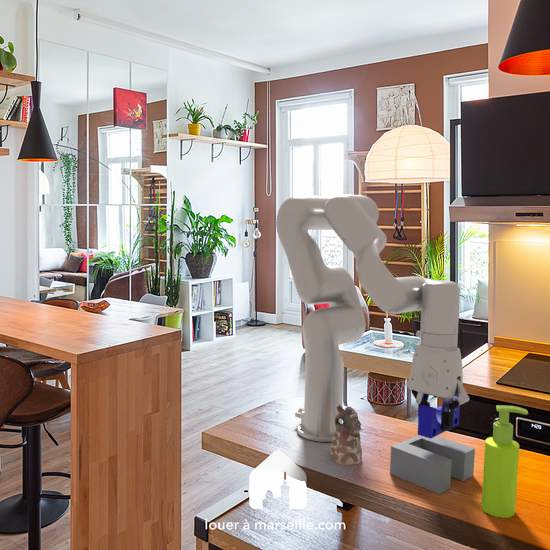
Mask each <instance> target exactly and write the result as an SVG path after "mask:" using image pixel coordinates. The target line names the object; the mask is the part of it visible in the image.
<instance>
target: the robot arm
mask: <svg viewBox="0 0 550 550" xmlns="http://www.w3.org/2000/svg"><path fill="white" fill-rule="evenodd" d="M379 217H380V211H379V207H378V205H377V203H376V201H374V200H373V199H372V198H371V197H369V196H366V195H360V194H348V193H347V194H346V193H345V194H343V193H342V194H337V195H335V196H321V195H320V196H318V195H295V196H291V197H288V198H287V199H286V200H284V201H283V202H282V204H281V205H280V207H279V209H278V210H277V214H276V220H275V226H276V233H277V236H278V238H279V241H280V244H281V246H282V247H283V250H284V253H285V255H286V259H287V262H288V266H289V269H290V272H291V276H292V279H293V283H294V285H295V288H296V293H297V295H298V298H299V299H300V301H301V302H302V303H304V304H306V305H310V306H311V305H312V306H313V305H315V306H316V305H323V304H328V307H322V308H318V309H315V310H313V311H311V312H309V313H308V314H307V315H306V316H305V318H304V320H303V322H302V328H301V329H302V330H301V331H302V337H303V342H304V345H303V346H304V352H305V353H304V355H305V356H304V357H305V363H304V365H305V367H304V373H305V374H304V377H305V378H304V379H305V380H304V404H303V405H304V407H299V409H298V411H296V412H295V413H294V415H295V418H299V419H300V423H299V424H298V425H297V434H298V435H299V436H300V437H302V438H304V439H306V440H310V441H313V442H321V443H329V442H330V443H332V440H333V436H334V432H335V430H336V426H335V418H336V416H337V415H338V414H339V412H338V410H337V406H339V405H341V407H342V408H343V406H344V405H343V400H344V377H345V376H344V375H345V372H344V371H345V370H344V369H345V365H344V359H343V355H342V353H341V350H340V348H339V346H341V345H343V344H348V343H352V342H356V341H358V340H360V339H361V338H362V337H363V336H364V334H365V331H366V325H367V324H366V317H365V313H364V309H363V306H362V303H361V300H360V297H359V293H358V291H357V288H356V285H355V281H354V280H353V278H352V275H351V274H350V273H349V272H348V270H346V269H345V268H344V267H342V266H339V265H327V264H325V261H324V260H323V255H322V253H321V250H320V248H319V247H320V246H319V245H318V244H317V242H316V240H315V239H314V238H313V237H312V236H311V234H310V233H309V232H308V231H310V230H311V231H313V230H317V231H318V230H319V231H320V230H321V231H323V230H325V231H328V230H331V231H332V230H333V232H334V233H335V234H336V235H337V236H338V238H339V239H340V240H341V241H342V243H343V244H344V246H346V248H347V249H348V250H349V252H351V254H352V255H353V257H354V258H355V269H356V275H357V278H358V281H359V284H360V287H362V289H363V290H364V291H365V293H366V294H367V295H368V297H369V298H370V299H371V301H372V302H373V303H374V304H375V305H376V306H377V308H379V309H380V310H381V311H383V312H384V313H387V314H391V315H396V314H397V315H398V314H403V313H409V312H410V313H412V312H417V311H420V330H417V331H416V332H415V337H416V338H419V342H418V343H416V345H415V347H414V348H415V349H414V351H413V356H412V360H411V361H412V362H411V369H410V378H409V379H408V380H407V381H406V383H405V385H406V387H407V388H408V389H409V391H410V392H411V394H412V395H413V397H414V399H415V403H416V404H417V416H418V415H419V406H421V405H426V406H430V407H431V404H430V403H431V402H430V401H428V400H429V398H430V396H432V397H435V398H440V399H441V400H442V405H443V406H444V411H442V413H441V430H443V431H445V430H447V429H449V430H451V429H452V428H451V427H452V425H453V414H454V410H455V409H456V408H457V407H459V406H460V407H461V405H463V404H465V403H467V402H469V401H470V396H469V395H468V393H467V391H466V390H465V387H464V385H463V377H464V376H463V373H464V372H463V360H462V353H461V349H460V348H459V347H458V339H459V338H458V337H459V319H460V300H461V299H460V296H461V295H460V293H461V289H460V285H459V284H458V283H457V282H455V281H451V280H444V279H443V280H442V279H441V280H440V279H439V280H438V279H431V278H428V277H427V278H426V277H423V276H417V275H415V276H414V275H413V276H402V277H401V276H399V277H395V276H394V275H393V274H392V272H391V271H390V270H389V269H388V267H386V266H385V264H384V262H383V260H382V259H381V256H380V253H381V252H382V251H383V250H384V248H385V247H386V245H387V243H388V242H387V241H388V240H387V239H388V238H387V235H386V233H385V232H384V231H383V230H382V229H381V228H380V227H379V225H378V224H377V222H378V221H379ZM455 396H457V397H459V398H458V399H457V400H455ZM339 423H340V424H343V420H342V419H339ZM450 428H451V429H450ZM447 431H448V430H447ZM445 432H446V431H445Z"/></svg>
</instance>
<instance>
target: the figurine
mask: <svg viewBox="0 0 550 550" xmlns="http://www.w3.org/2000/svg"><path fill="white" fill-rule="evenodd" d="M337 410H338V412H339V414H338V415H337V416H336V418H335V426H336V430H335V432H334V436H333V440H332V442H331V445H330V451H329V453H330V459H331V460H332V462H334V463H336V464H339V465H341V466H343V465H345V466H351V465H359V464H361V463H362V462H363V460H362V459H363V458H362V457H363V456H362V455H363V448H362V443H361V441H362V440H361V435H360V434H361V433H360V431H361V430H362V423H361V421H360V419H359V415H358V413H357V411H356V410H355V409H354V408H353V407H351V406H347V407H345V409H344V408H343V406H342V407H341V405H339V406H337ZM339 419H342V424H340V423H339Z"/></svg>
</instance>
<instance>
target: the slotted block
mask: <svg viewBox="0 0 550 550" xmlns="http://www.w3.org/2000/svg"><path fill="white" fill-rule="evenodd" d="M475 454H476V448H473V447H472V446H468V445H466V444H463V443H460V442H457V441H454V440H451V439H448V438H445V437H441V436H439V435H437V436H435V437H433V438H431V439H430V438H427V437H424V436H420V435H418V434H417V435H416V436H415V435H414V436H413V437H410V438H409V439H408V438H407V439H406V440H402V441H400V442H398V443H396V444H393V445H391V446H390V462H389V463H390V464H389V465H390V466H389V474H390V475H393V476H395V477H398V478H399V479H402V480H405V481H407V482H409V483H412V484H414V485H416V486H419V487H421V488H424V489H426V490H428V491H431V492H433V493H435V494H438V495H441V494H442V493H444V492H446V491H447V490H450V489H451V483H452V479H451V478H454V479H457V480H459V481H462V482H465V481H466V480H468V479H470V478H472V477H474V470H475V456H476V455H475Z"/></svg>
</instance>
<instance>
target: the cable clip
mask: <svg viewBox="0 0 550 550" xmlns="http://www.w3.org/2000/svg"><path fill="white" fill-rule="evenodd" d="M454 396H455V400H457V399H458V398H459V396H458V395H454ZM460 408H461V405H460V406H459V407H457V408H456V409H455V410H454V414H453V425H452V427H451V428H450V429H447V430H445V431H443V430H441V413H442V411H444V406H443V404H442V406H441V405H439V406H437V407H434V406H431V405H430V406H426V405H421V406H419V415H418V414H417V417H418V420H417V436H418V435H420V436H424V437H427V438H430V439H431V438H433V437H435V436H439V435H440V434H441V435H442V434H443V433H445V432H447V431H449V430H451V429H453V428H454V427H457V426H458V425H460V412H461V411H460V410H461V409H460Z"/></svg>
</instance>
